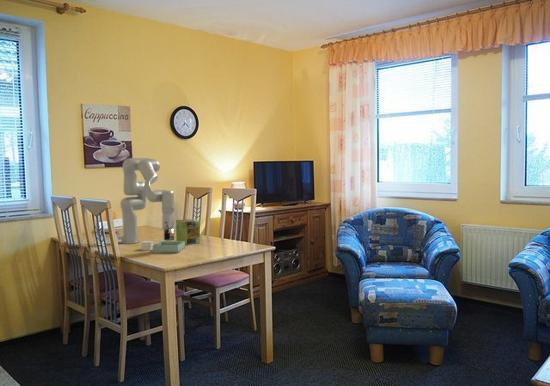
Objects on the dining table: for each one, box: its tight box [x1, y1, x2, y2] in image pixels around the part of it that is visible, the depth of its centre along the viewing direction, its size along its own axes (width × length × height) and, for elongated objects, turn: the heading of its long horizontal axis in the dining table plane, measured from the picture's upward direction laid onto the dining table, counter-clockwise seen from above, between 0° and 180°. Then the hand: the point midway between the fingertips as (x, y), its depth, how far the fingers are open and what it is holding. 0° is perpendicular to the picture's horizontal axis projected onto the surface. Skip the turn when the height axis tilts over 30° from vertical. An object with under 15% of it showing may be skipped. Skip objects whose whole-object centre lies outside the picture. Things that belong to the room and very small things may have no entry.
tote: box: [152, 240, 186, 254], centre depth 297 cm, size 16×16×4 cm
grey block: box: [140, 240, 155, 251], centre depth 302 cm, size 6×6×5 cm
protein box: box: [175, 218, 201, 246], centre depth 324 cm, size 10×15×16 cm
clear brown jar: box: [163, 227, 175, 241], centre depth 297 cm, size 6×6×7 cm
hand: (168, 238), depth 297 cm, fingers closed on clear brown jar, 6 cm apart
